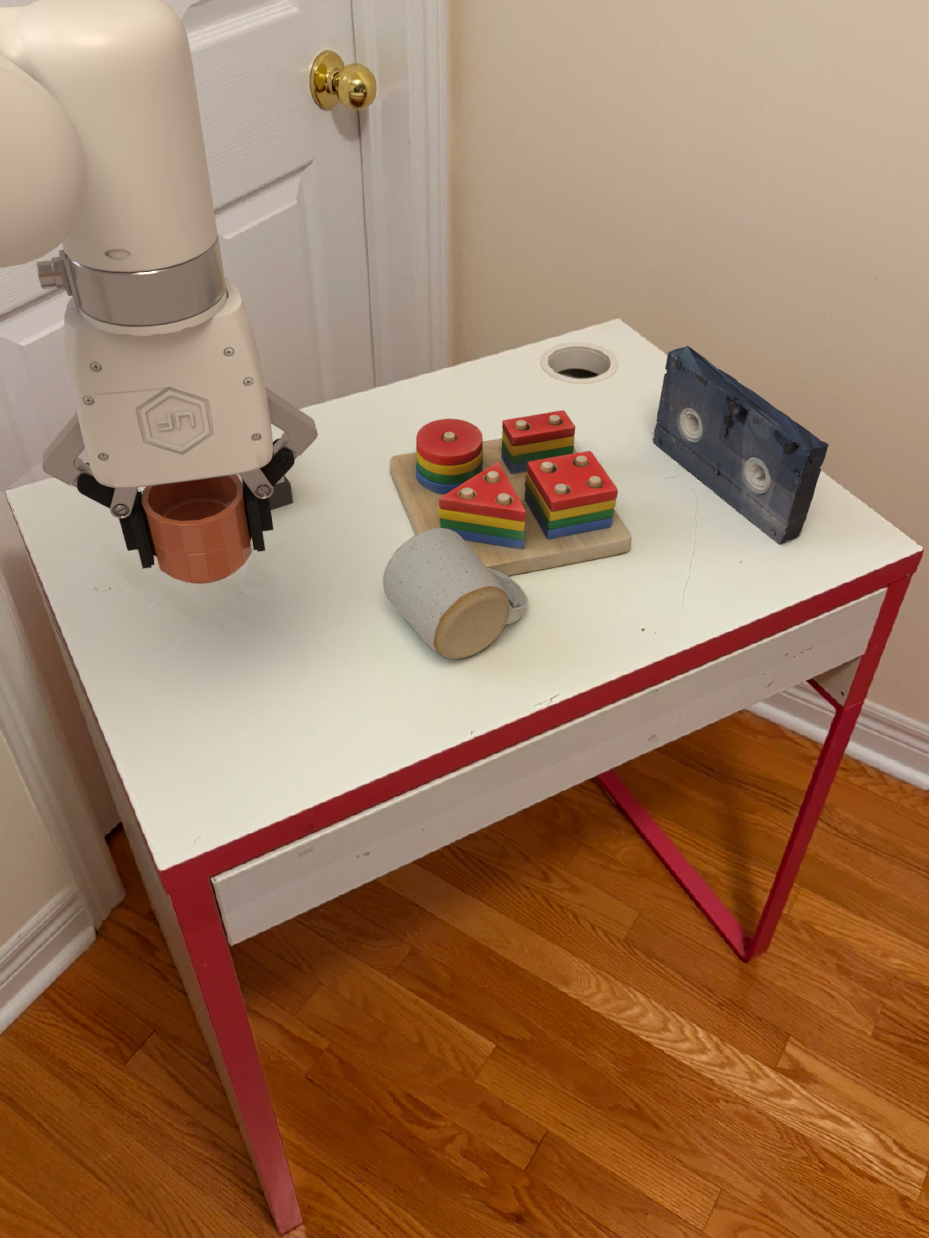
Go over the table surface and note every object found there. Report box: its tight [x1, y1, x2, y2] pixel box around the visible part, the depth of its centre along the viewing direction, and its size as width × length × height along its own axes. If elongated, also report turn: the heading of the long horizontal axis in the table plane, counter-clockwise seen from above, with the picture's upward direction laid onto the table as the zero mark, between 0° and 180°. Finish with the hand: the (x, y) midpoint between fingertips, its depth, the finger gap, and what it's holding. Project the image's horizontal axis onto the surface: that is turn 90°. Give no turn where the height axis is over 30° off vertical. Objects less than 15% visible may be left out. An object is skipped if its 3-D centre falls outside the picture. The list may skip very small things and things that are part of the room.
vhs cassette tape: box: [652, 345, 830, 545], centre depth 94 cm, size 18×3×10 cm, turn 29°
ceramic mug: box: [382, 528, 528, 660], centre depth 82 cm, size 11×8×8 cm
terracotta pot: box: [141, 474, 253, 585], centre depth 65 cm, size 6×6×5 cm
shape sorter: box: [389, 409, 632, 577], centre depth 93 cm, size 18×17×6 cm
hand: (202, 543), depth 66 cm, fingers closed on terracotta pot, 6 cm apart
